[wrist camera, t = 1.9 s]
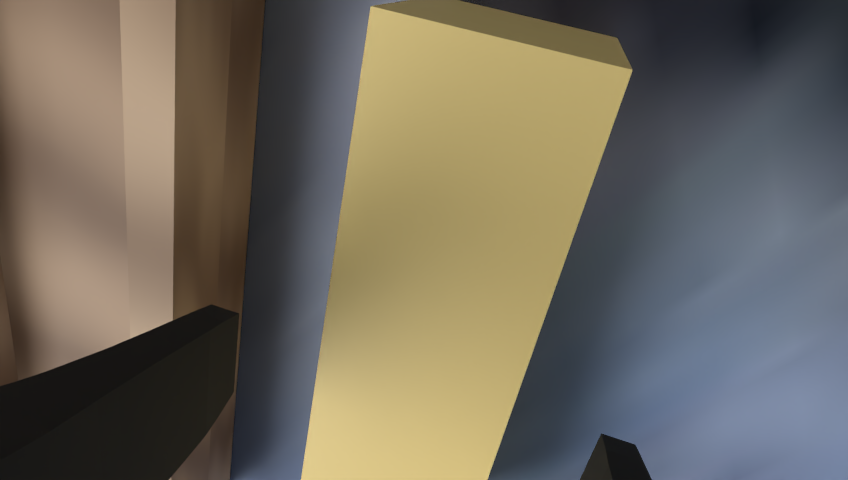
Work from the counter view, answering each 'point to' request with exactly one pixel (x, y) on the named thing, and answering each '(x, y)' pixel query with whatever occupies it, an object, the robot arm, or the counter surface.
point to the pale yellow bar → (453, 232)
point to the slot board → (124, 177)
